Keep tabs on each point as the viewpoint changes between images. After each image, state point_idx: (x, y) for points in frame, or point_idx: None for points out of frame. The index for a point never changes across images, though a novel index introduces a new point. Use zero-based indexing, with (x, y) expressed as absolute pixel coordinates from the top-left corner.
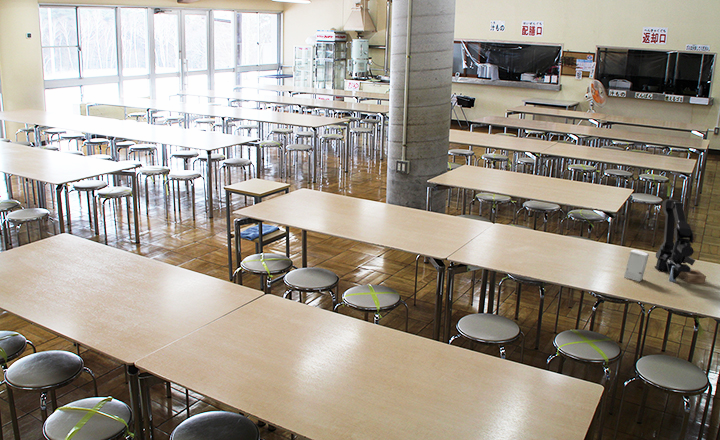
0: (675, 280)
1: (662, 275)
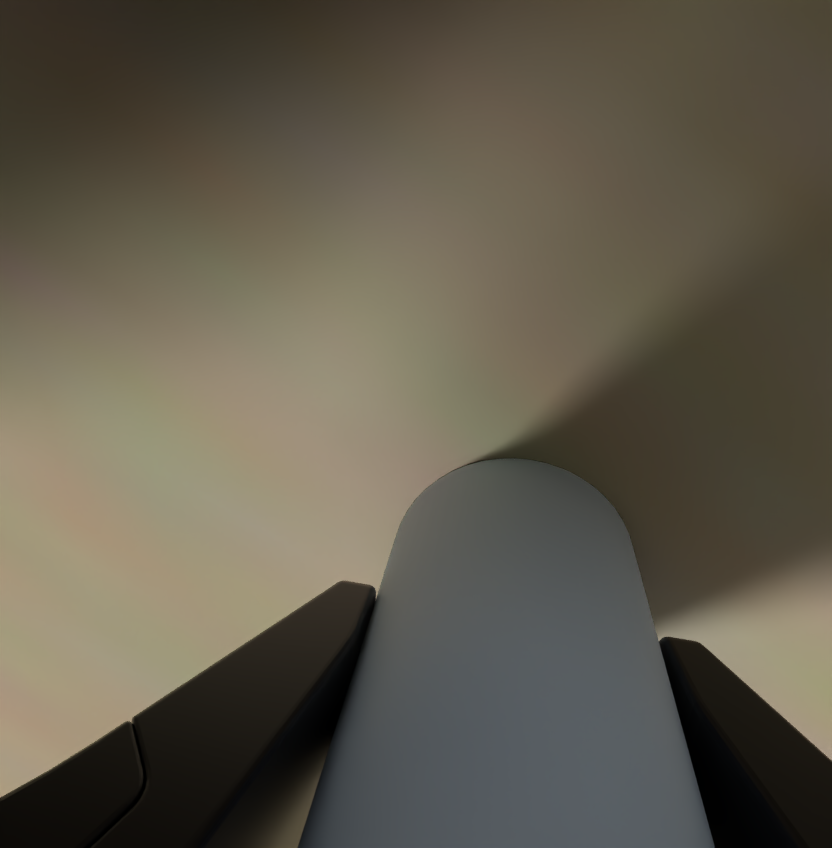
0: (631, 553)
1: (16, 597)
